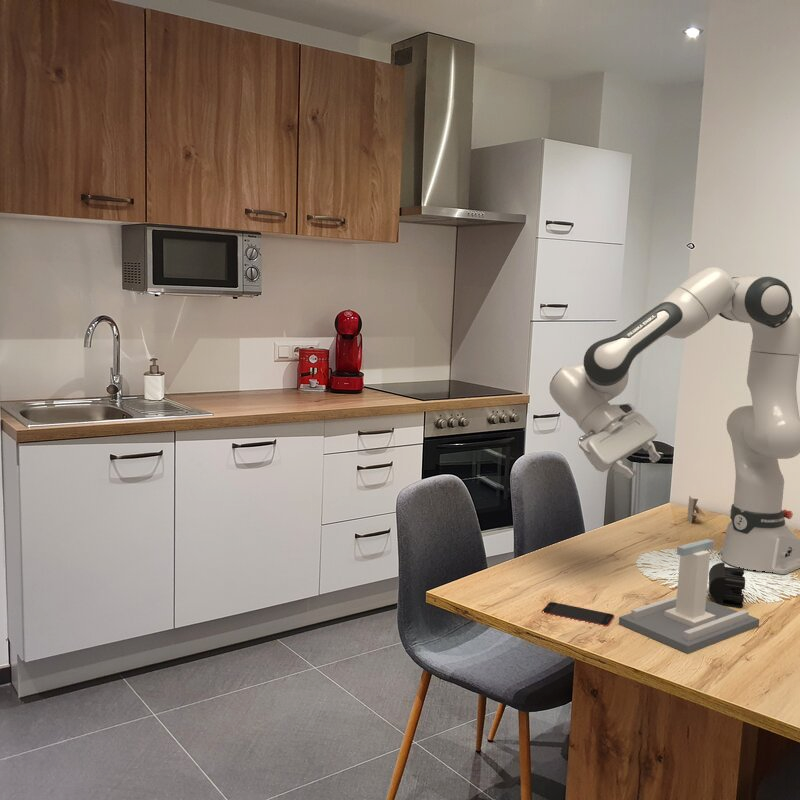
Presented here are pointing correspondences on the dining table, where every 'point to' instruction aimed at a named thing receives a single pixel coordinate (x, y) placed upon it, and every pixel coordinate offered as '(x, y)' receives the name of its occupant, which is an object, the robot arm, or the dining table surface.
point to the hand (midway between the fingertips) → (645, 468)
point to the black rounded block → (727, 585)
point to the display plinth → (684, 636)
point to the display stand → (692, 584)
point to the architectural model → (691, 510)
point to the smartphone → (578, 613)
